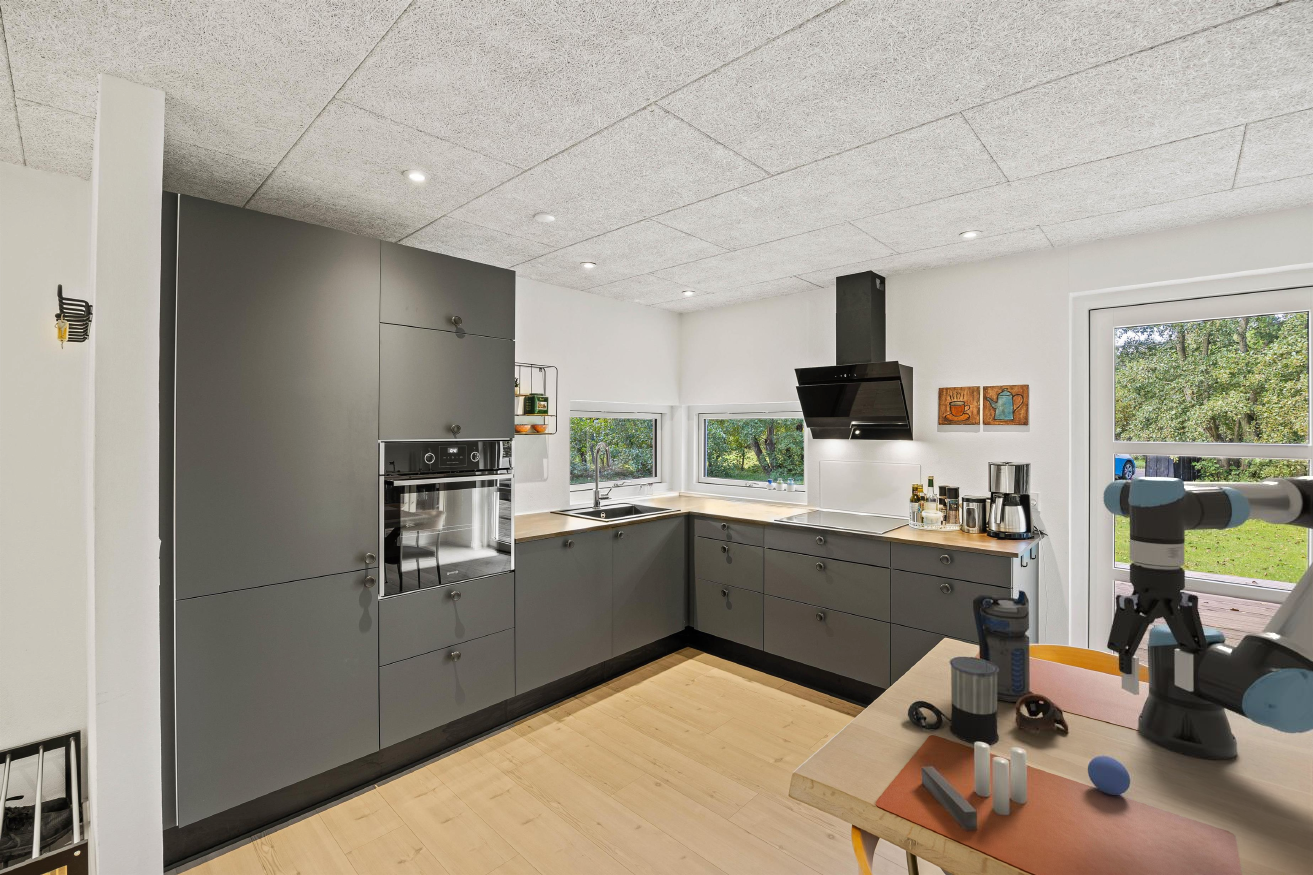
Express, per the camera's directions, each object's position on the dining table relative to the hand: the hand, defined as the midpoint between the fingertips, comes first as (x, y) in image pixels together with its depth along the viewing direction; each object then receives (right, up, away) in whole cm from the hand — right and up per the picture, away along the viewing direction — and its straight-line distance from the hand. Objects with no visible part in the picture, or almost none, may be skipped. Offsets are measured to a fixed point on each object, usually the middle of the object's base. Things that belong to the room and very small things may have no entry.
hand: (1157, 689), depth 106 cm
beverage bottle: (-6, -17, +38) cm, 42 cm away
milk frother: (-26, -18, +22) cm, 38 cm away
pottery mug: (-7, -18, +22) cm, 29 cm away
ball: (-9, -15, -1) cm, 17 cm away
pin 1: (-31, -18, 0) cm, 36 cm away
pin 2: (-31, -18, -5) cm, 36 cm away
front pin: (-26, -18, -2) cm, 32 cm away
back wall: (-39, -18, -4) cm, 43 cm away
